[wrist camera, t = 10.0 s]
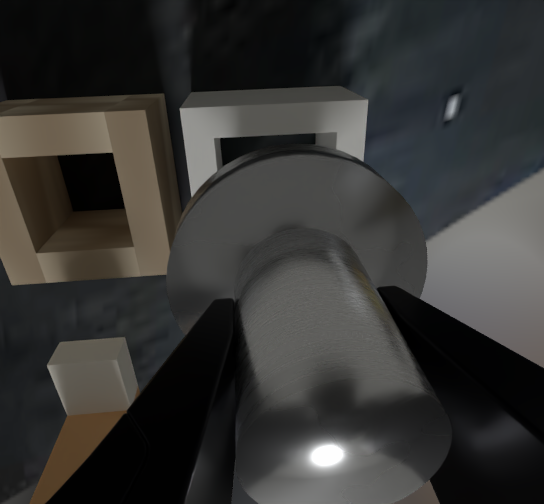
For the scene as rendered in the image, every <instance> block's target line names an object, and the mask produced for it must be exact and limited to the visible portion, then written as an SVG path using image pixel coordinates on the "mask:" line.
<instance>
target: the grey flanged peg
mask: <svg viewBox="0 0 544 504" xmlns="http://www.w3.org/2000/svg"><path fill="white" fill-rule="evenodd" d="M426 272H427V247H426V242H425V237H424V233H423V231H422V228H421V226H420V223H419V220H418V219H417V217H416V215H415V213H414V212H413V210H412V208H411V207H410V205H409V204H408V203H407V202H406V201H405V199H404V198H403V197H402V196H401V194H399V193H398V192H397V191H396V190H395V189H394V188H393V187H392V186H391V185H390V184H389V183H388V182H387V181H386V180H385V179H384V178H383V177H382V176H381V175H379V174H378V173H377V172H376V171H375V170H374V169H373V168H372V167H370V166H369V165H367V164H366V163H364V162H363V161H361V160H360V159H358V158H356V157H354V156H352V155H350V154H348V153H345V152H343V151H340V150H337V149H333V148H330V147H327V146H320V145H314V144H284V145H276V146H271V147H267V148H263V149H259V150H256V151H253V152H251V153H248V154H246V155H243V156H241V157H239V158H237V159H235V160H234V161H232V162H230V163H228V164H226V165H225V166H223V167H222V168H221V169H219V170H218V171H217V172H215V173H214V174H213V175H212V176H210V177H209V178H208V179H207V180H206V181H205V182H204V183H203V184H202V185H201V186H200V187H199V189H198V190H197V191H196V193H195V194H194V195H193V197H192V198H191V199H190V201H189V203H188V204H187V206H186V208H185V210H184V212H183V213H182V216H181V219H180V221H179V224H178V226H177V230H176V233H175V237H174V240H173V244H172V247H171V251H170V255H169V260H168V265H167V276H166V285H167V294H168V299H169V303H170V307H171V311H172V313H173V315H174V317H175V320H176V322H177V324H178V325H179V327H180V329H181V330H182V332H183V333H184V335H185V336H186V334H187V333H188V332H189V330H190V329H191V328H192V327H193V325H194V324H195V323H196V322H197V320H198V319H199V318H200V317H201V315H202V314H203V313H204V311H205V310H206V309H207V308H208V306H209V305H210V304H211V303H212V301H213V300H215V299H222V298H233V299H234V302H235V443H236V472H237V477H238V479H239V482H240V483H241V486H242V487H243V489H244V490H245V491H246V493H247V494H248V495H249V496H250V497H251V498H252V499H254V500H255V501H256V502H258V503H259V504H393V503H395V502H397V501H399V500H401V499H403V498H405V497H406V496H408V495H410V494H411V493H413V492H414V491H416V490H417V489H419V488H420V487H421V486H422V485H424V483H426V482H427V481H428V480H429V479H430V478H431V477H432V476H433V475H434V474H435V473H436V472H437V470H438V469H439V468H440V467H441V465H442V464H443V462H444V460H445V458H446V457H447V454H448V452H449V449H450V446H451V440H452V428H451V423H450V420H449V418H448V415H447V413H446V411H445V410H444V408H443V406H442V404H441V402H440V401H439V399H438V397H437V395H436V394H435V392H434V390H433V388H432V386H431V385H430V383H429V381H428V379H427V378H426V376H425V374H424V372H423V371H422V369H421V367H420V365H419V363H418V362H417V360H416V358H415V356H414V355H413V353H412V351H411V349H410V348H409V346H408V344H407V342H406V340H405V339H404V337H403V335H402V333H401V332H400V330H399V328H398V326H397V325H396V323H395V321H394V319H393V317H392V316H391V314H390V312H389V310H388V309H387V307H386V305H385V303H384V301H383V300H382V298H381V296H380V294H379V293H378V291H377V288H378V287H381V286H397V287H399V288H401V289H403V290H405V291H406V292H408V293H410V294H412V295H414V296H415V297H417V298H420V296H421V294H422V291H423V287H424V283H425V279H426Z"/></svg>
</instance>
